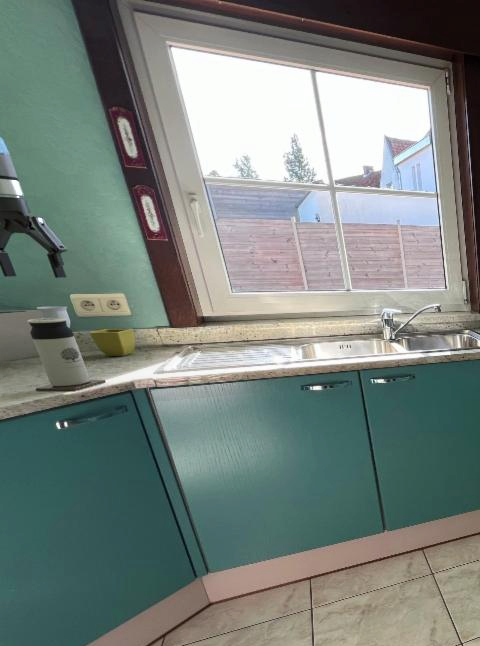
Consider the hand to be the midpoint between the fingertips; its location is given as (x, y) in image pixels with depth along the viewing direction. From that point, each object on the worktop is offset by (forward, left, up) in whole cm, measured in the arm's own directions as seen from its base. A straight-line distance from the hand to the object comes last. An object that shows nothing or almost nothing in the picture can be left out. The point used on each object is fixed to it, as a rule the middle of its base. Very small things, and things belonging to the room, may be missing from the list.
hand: (36, 277), depth 145 cm
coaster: (+15, -18, -29) cm, 37 cm away
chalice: (-15, +18, -29) cm, 37 cm away
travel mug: (+15, -18, -28) cm, 36 cm away
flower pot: (-7, +28, -29) cm, 41 cm away
